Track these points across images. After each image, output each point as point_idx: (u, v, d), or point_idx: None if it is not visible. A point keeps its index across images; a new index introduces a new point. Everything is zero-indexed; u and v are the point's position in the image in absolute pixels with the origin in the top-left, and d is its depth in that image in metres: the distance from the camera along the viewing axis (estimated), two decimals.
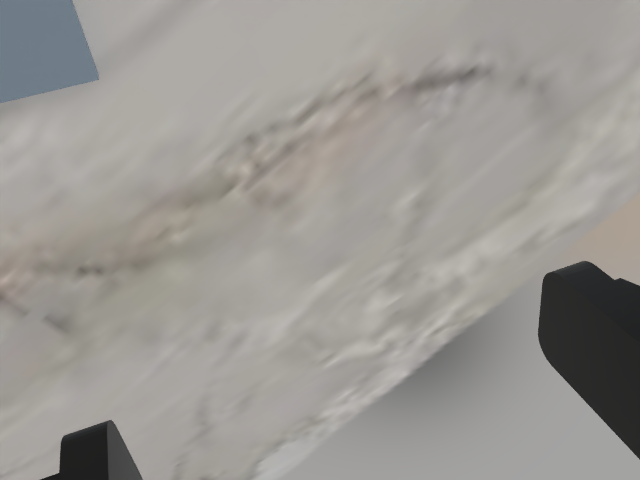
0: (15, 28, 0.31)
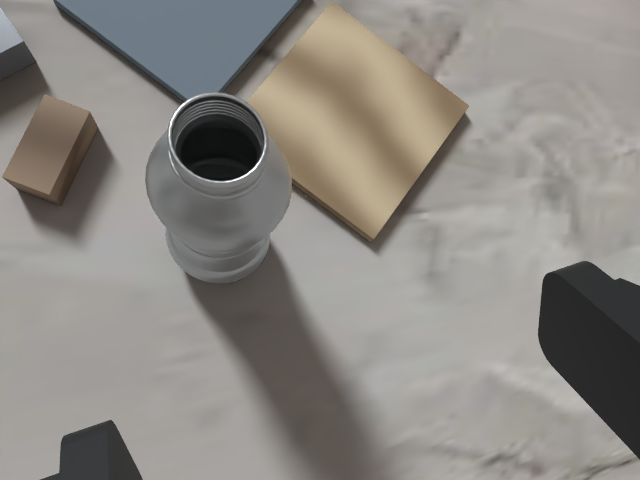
0: None
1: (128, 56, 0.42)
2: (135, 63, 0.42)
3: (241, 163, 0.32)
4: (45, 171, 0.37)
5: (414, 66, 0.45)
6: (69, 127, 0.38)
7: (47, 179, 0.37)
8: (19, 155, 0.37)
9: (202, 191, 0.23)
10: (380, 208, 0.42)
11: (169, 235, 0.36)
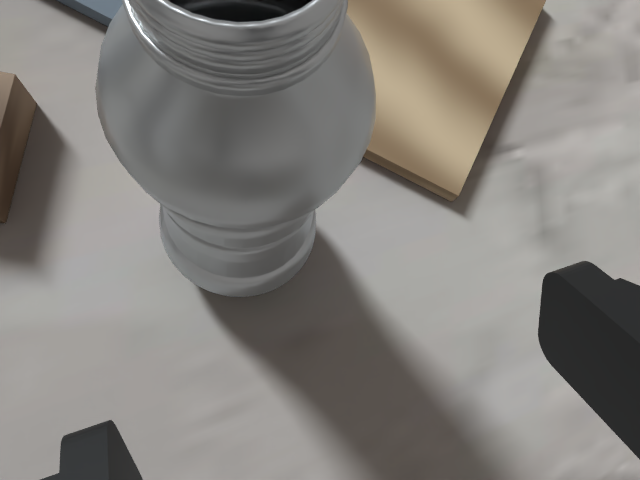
0: None
1: None
2: (77, 8, 0.30)
3: None
4: None
5: None
6: None
7: None
8: None
9: (216, 72, 0.10)
10: (459, 150, 0.30)
11: (166, 234, 0.23)
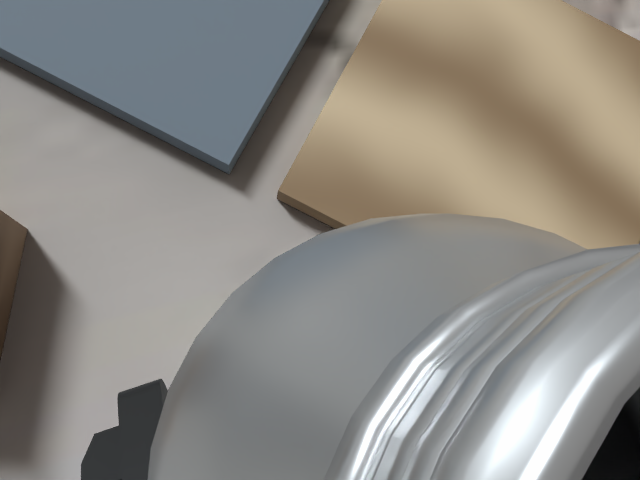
0: None
1: (70, 86, 0.22)
2: (86, 97, 0.22)
3: None
4: None
5: (588, 18, 0.25)
6: None
7: None
8: None
9: None
10: None
11: None
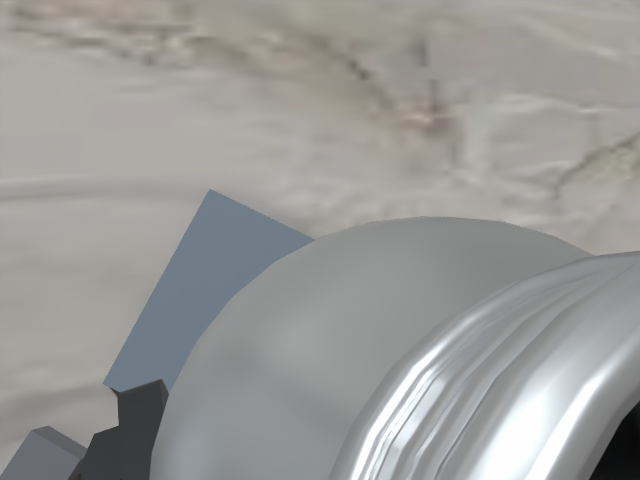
0: (228, 260, 0.36)
1: None
2: None
3: None
4: None
5: None
6: None
7: None
8: None
9: None
10: None
11: None
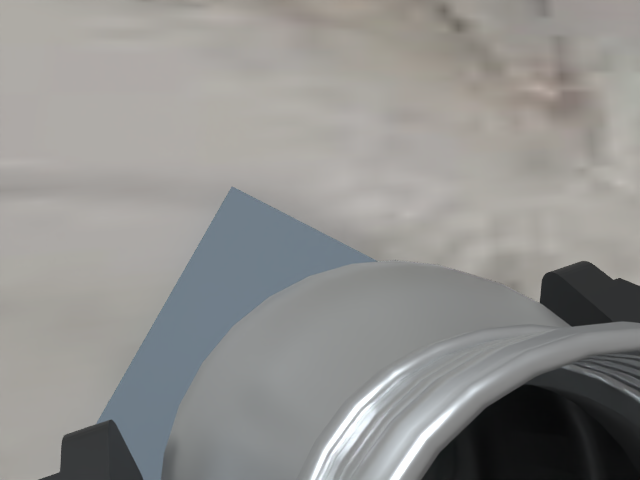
0: (259, 299, 0.23)
1: None
2: None
3: None
4: None
5: None
6: None
7: None
8: None
9: None
10: None
11: None
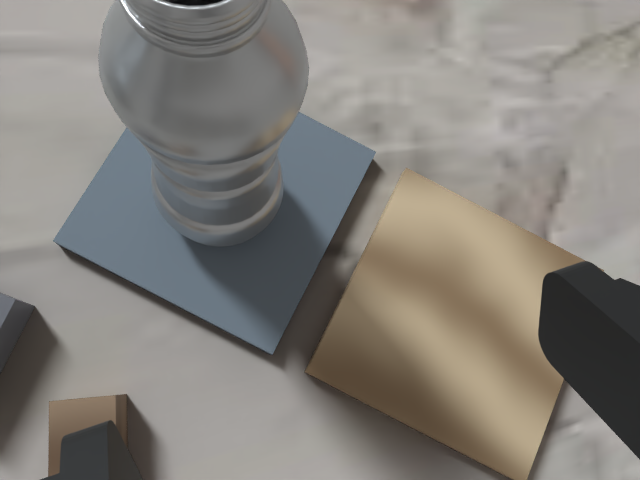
0: None
1: (164, 299, 0.32)
2: (174, 304, 0.32)
3: None
4: None
5: (525, 232, 0.35)
6: None
7: None
8: None
9: (177, 40, 0.14)
10: (524, 438, 0.32)
11: (155, 188, 0.28)
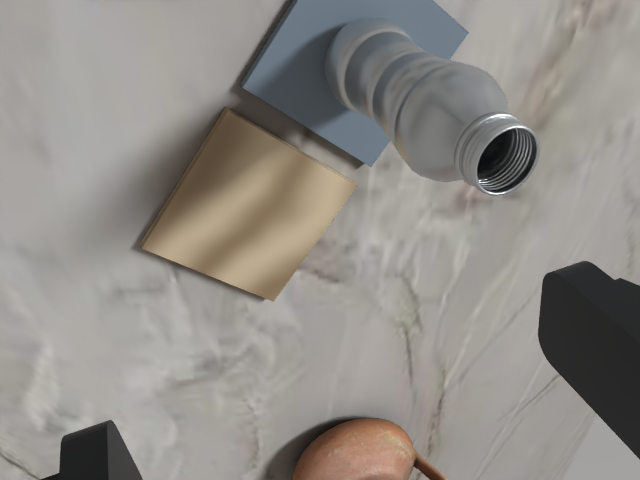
0: (414, 41, 0.46)
1: (290, 9, 0.42)
2: (285, 15, 0.42)
3: None
4: None
5: (303, 257, 0.53)
6: None
7: None
8: None
9: (465, 145, 0.29)
10: (171, 250, 0.48)
11: (376, 30, 0.40)
